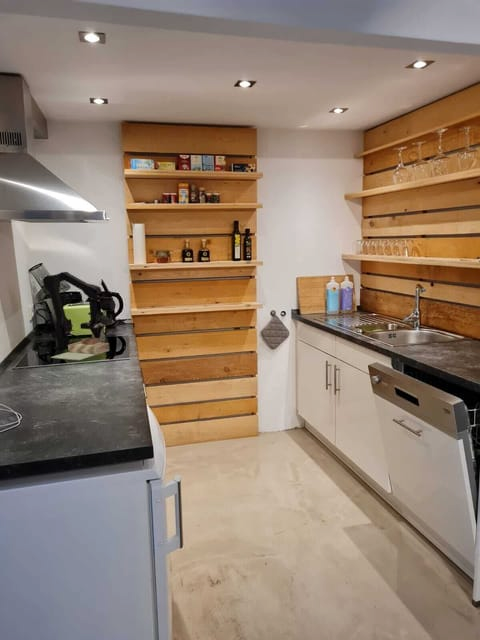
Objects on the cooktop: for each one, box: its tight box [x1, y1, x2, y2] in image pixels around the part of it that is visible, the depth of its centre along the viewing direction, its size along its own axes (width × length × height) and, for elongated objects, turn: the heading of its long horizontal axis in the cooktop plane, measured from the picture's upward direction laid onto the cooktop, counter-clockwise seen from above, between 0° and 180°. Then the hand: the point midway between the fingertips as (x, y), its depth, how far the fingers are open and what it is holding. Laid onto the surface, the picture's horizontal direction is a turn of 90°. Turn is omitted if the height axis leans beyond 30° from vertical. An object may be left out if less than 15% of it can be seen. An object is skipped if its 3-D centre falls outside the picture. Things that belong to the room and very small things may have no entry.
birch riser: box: [67, 340, 110, 356], centre depth 249 cm, size 18×10×4 cm, turn 66°
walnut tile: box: [81, 337, 100, 345], centre depth 250 cm, size 7×5×2 cm
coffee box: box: [89, 318, 106, 343], centre depth 277 cm, size 9×6×16 cm
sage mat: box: [50, 351, 96, 361], centre depth 239 cm, size 18×11×1 cm, turn 66°
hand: (97, 339), depth 255 cm, fingers closed
